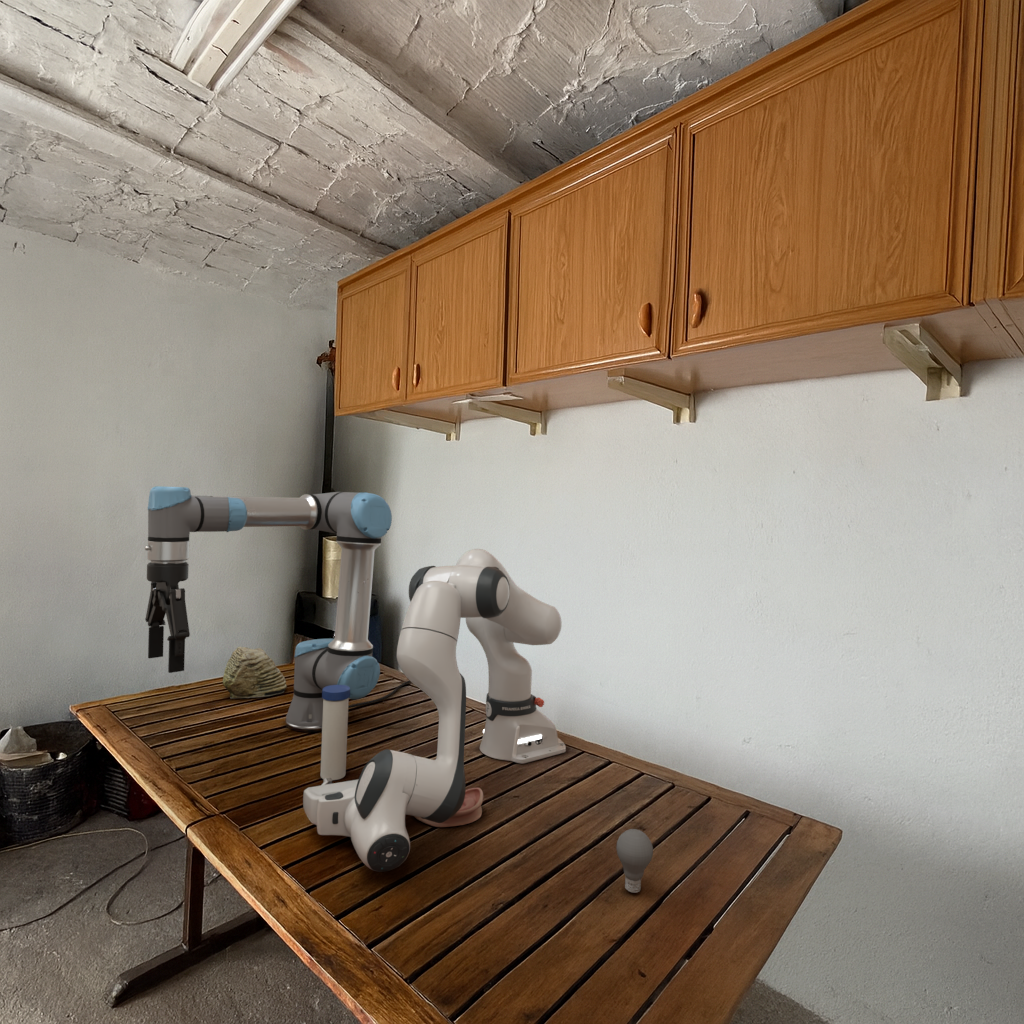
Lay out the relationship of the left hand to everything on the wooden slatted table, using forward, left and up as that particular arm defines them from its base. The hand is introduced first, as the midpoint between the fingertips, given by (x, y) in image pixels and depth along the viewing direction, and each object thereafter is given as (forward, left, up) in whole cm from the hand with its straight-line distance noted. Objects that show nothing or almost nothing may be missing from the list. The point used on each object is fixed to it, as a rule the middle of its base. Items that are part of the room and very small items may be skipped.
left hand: (165, 664), depth 131 cm
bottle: (-30, +17, -28) cm, 44 cm away
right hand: (-23, +32, -21) cm, 45 cm away
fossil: (-47, -48, -28) cm, 73 cm away
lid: (-30, +17, -8) cm, 35 cm away
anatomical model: (-35, +48, -28) cm, 66 cm away
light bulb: (-38, +88, -28) cm, 100 cm away
